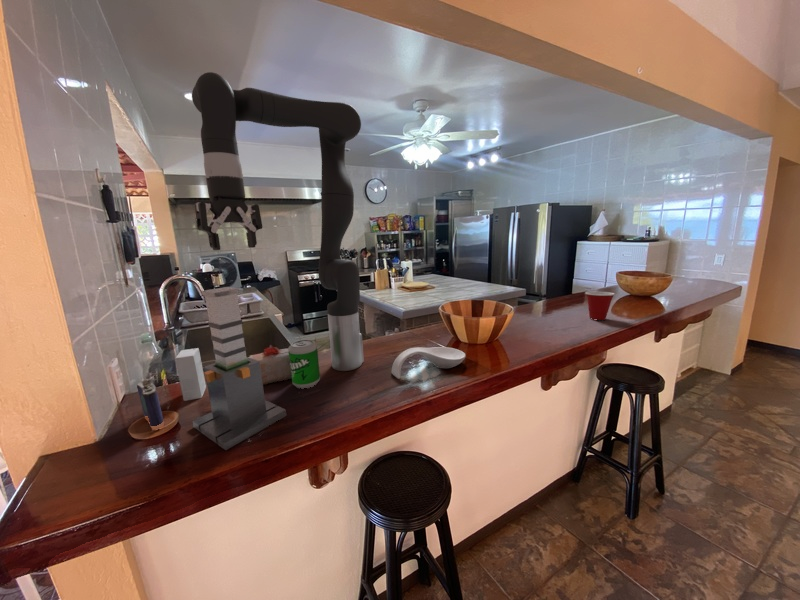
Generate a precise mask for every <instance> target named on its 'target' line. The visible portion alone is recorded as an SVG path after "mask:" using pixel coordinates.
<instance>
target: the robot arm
mask: <svg viewBox="0 0 800 600" xmlns="http://www.w3.org/2000/svg"><path fill="white" fill-rule="evenodd" d="M191 100H192V103H193V105H194V107H195V108H196V110H197V111H198V112H199V113H200V114H201V120H202V124H201V129H200V140H201V146H202V151H203V168H204V175H205V180H206V187H207V193H208V198H209V203H206V202H204V201H199V202H195V203H194V212H195V221H196V229H197V230H198V231H201V232H205V233H206V234H207V237H208V242H209V247H210V249H211V248H212V251H221V242H220V238H219V237H220V235H219V233H217V232H218V230H219V229H220V226H222V225H223V223H224V224H225V223H227V224H228V223H229V224H230V223H231V224H232V223H234V224H235V223H237V224H239V225H240V226H242V227H243V229H244V230H245V231H246V234H245V235H246V240H247V247H248V248H250V249H251V248H254V249H255V248H256V246H257V243H258V241H257V234H256V232H257V231H259V230H262V229H263V221H262V215H261V210H260V206H259V204H257V203H255V204H249V205H248V204H247V203H246V192H245V190H246V189H245V183H244V174H243V170H242V169H243V168H242V164H241V162H240V157H239V155H240V154H239V149H238V148H239V147H238V142H237V135H236V128H237V127H236V126H237V123H236V122H252V123H256V124H260V125H265V126H272V127H279V128H280V127H281V128H301V127H302V128H303V127H309V128H315V129H316V128H317V129H318V133H319V134H318V135H319V147H320V157H321V191H320V192H321V193H320V194H321V197H320V198H321V201H320V202H321V203H320V204H321V235H320V236H321V237H320V238H321V239H320V248H319V249H320V252H319V261H318V280H319V283H320V285H321V286H322V287H323V288H324V289H327V290H331V291H337V292H336V293H337V296H336V300H334V301H331V302H329V303H328V304H327V306H326V307H327V308H326V310H327V319H328V320H327V321H328V332H329V333H328V334H329V345H330V353H331V354H330V357H331V367H332V369H334V370H335V371H338V372H340V371H341V372H346V371H354V370H356V369H358V368H360V367H361V366H362V364H363V363H364V362H365V360H364V345H363V335H362V333H360V319H359V318H360V317H359V304H360V301H361V300H360V299H361V295H360V294H361V293H360V291H361V288H360V287H361V286H360V285H361V283H360V282H361V281H360V279H361V278H360V271H359V267H358V265H357V264H356V262H355V261H353V260H351V259H343V258H342V259H341V246H342V241H343V239H344V236H345V234H346V232H347V230H348V228H349V226H350V224H351V222H352V221H353V220H352V219H353V216H354V211H355V210H354V203H355V199H354V198H355V197H354V196H355V194H354V193H355V192H354V188H353V185H352V182H351V179H350V177H349V174H348V172H347V167H346V160H345V159H346V158H345V157H346V156H345V153H346V152H345V151H346V143H347V142H348V141H351V140H353V139H354V138H355V137H357V136H358V134H359V133H360V131H361V129H362V120H361V117H360V114H359V112H358V111H357V109H356V108H354V106H352V105H351V104H349V103H345V102H339V101H321V100H312V99H304V98H298V97H293V96H287V95H283V94H278V93H275V92H270V91H266V90H263V89H259V88H256V87H255V88H253V87H244V88H242V89H232V86H231V85H230V82H229V81H228V80H226V78H225V77H224V76H222V75H221V74H219V73H217V72H213V71H212V72H210V71H209V72H204V73H203V74H201V75H199V76H198V78H197V80H196V83H195V85H194V87H193V89H192V91H191ZM209 210H210V211H211V213H212V214H213V216H212V218H211V219H210V220H209V223H208V215H207V214H208V213H209ZM247 212H248V214H250V218H249V217H248V215H247Z"/></svg>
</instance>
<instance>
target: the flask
mask: <svg viewBox="0 0 800 600" xmlns="http://www.w3.org/2000/svg"><path fill="white" fill-rule="evenodd" d="M151 380H153V378H152V377H150V378H146V379H141V380H140V381H139V382H138V383H137V384H136V389H137V392H138V396H139V400H140V403H141V409H142V413H143V417H145V416H148V418H149V422H150V425H149V427H150V426H157V425H159V424H161V423H162V422H163V419H164V417H163V416H164V415H163V411H162V409H161V408H162V407H161V404H160V399H159V395H158V394H159V393H158V389H157V387H156V385H155V384H154V383H153V382H151Z"/></svg>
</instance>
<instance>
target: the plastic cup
mask: <svg viewBox="0 0 800 600" xmlns="http://www.w3.org/2000/svg"><path fill="white" fill-rule="evenodd" d="M584 294H585V295H586V300H587V307H588V313H589V314H588V315H589V319H590V318H592V319H597V320H604V319H605V320H606V319H607V315H608V313H609V309H610V306H611V303H612V301H613V298H614V296H615V292H609V291H585V293H584ZM592 319H591V320H592ZM597 320H596V321H597ZM605 320H604V321H605Z"/></svg>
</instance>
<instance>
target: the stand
mask: <svg viewBox="0 0 800 600" xmlns="http://www.w3.org/2000/svg"><path fill="white" fill-rule="evenodd" d="M246 357H247V359H248V364H245V365H242V366H240V367H237V368H234V369H232V370H229V371H226V372H225V371H223V370H221V369H218V368H217V367H216V365H215V362H214V363H211V364H208V365H205V366H203V373H204V379H205V383H206V388H207V393H208V397H209V404H210V407H211V408H210V409H211V412H209V413H207V414H204V415H202V416H200V417H198V418H195V419H194V420H192V425H193V428H194V429H195V430H197V431H198V432H200V433H201V434H202V435H203V436H204V437H207V438H208V439H209V440H211V441H212V442H214V444H217V445H218V446H219V447H220V448H222V449H223V450H225V451H227V450H229V449H230V448H233V447H235V446H236V445H237V444H240V443H241V442H243V441H245V440H246V439H248V438H250V437H252V436H254V435H256V434H257V433H259V432H261V431H262V430H264V429H266V428H268V427H270V426H272V425H273V424H275V423H277V422H278V420H279V421H281V420H282V419H284V418H286V417H287V409H285V408H283V407H281V406H279V405H277V404H275V403H272V402H271V401H268V399H267V400H266V399H265V398H266V397H265V391H264V385H263V383H262V375H261V368H260V361H257V360H254V359H252V358H249V356H246ZM276 421H277V422H276ZM269 425H270V426H269Z"/></svg>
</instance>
